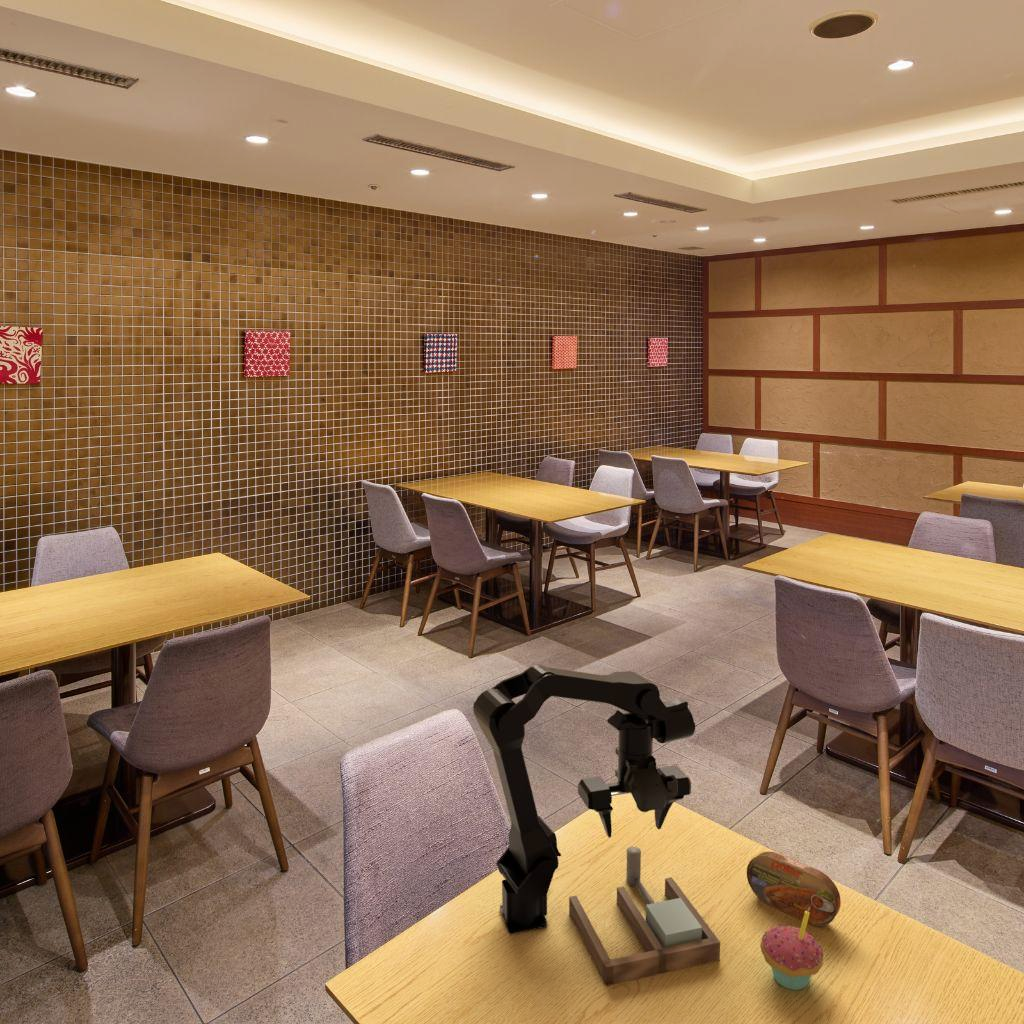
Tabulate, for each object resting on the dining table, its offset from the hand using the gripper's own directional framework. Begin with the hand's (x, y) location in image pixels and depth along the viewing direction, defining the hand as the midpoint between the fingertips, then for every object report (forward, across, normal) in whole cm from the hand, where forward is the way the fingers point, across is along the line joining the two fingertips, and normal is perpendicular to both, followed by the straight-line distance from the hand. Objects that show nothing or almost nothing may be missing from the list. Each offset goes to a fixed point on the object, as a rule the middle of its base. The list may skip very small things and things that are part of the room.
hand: (633, 832), depth 133 cm
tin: (+10, +22, -14) cm, 28 cm away
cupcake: (+10, +13, -26) cm, 31 cm away
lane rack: (+10, -4, -12) cm, 16 cm away
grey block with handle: (+10, 0, -9) cm, 13 cm away
